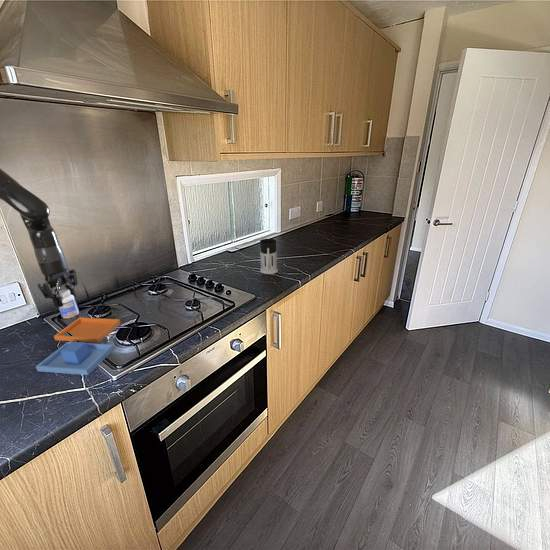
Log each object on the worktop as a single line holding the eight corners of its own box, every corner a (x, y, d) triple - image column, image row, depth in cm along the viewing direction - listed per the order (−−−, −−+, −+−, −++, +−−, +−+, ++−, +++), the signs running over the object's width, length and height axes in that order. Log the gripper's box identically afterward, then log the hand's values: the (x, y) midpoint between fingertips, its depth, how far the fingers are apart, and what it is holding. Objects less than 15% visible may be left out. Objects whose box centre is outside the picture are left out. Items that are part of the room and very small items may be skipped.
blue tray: (37, 372, 80) (35, 366, 79) (69, 346, 90) (67, 341, 89) (88, 376, 78) (86, 370, 77) (114, 349, 88) (113, 344, 87)
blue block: (65, 363, 82) (60, 351, 80) (76, 353, 86) (72, 341, 84) (79, 365, 81) (74, 352, 80) (90, 354, 85) (86, 342, 84)
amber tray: (55, 341, 93) (53, 336, 92) (81, 321, 103) (79, 317, 102) (98, 343, 91) (97, 338, 90) (120, 324, 101) (119, 319, 100)
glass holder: (277, 266, 146) (277, 237, 140) (278, 278, 133) (278, 246, 127) (260, 267, 146) (258, 238, 140) (259, 279, 133) (257, 247, 127)
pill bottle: (66, 312, 110) (58, 289, 106) (82, 310, 110) (74, 287, 107) (59, 320, 105) (50, 295, 101) (75, 318, 106) (67, 294, 102)
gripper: (58, 251, 106) (72, 293, 112) (21, 265, 93) (40, 312, 99) (76, 251, 105) (89, 293, 111) (42, 266, 92) (59, 313, 98)
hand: (66, 302), depth 105 cm, fingers closed on pill bottle, 5 cm apart
